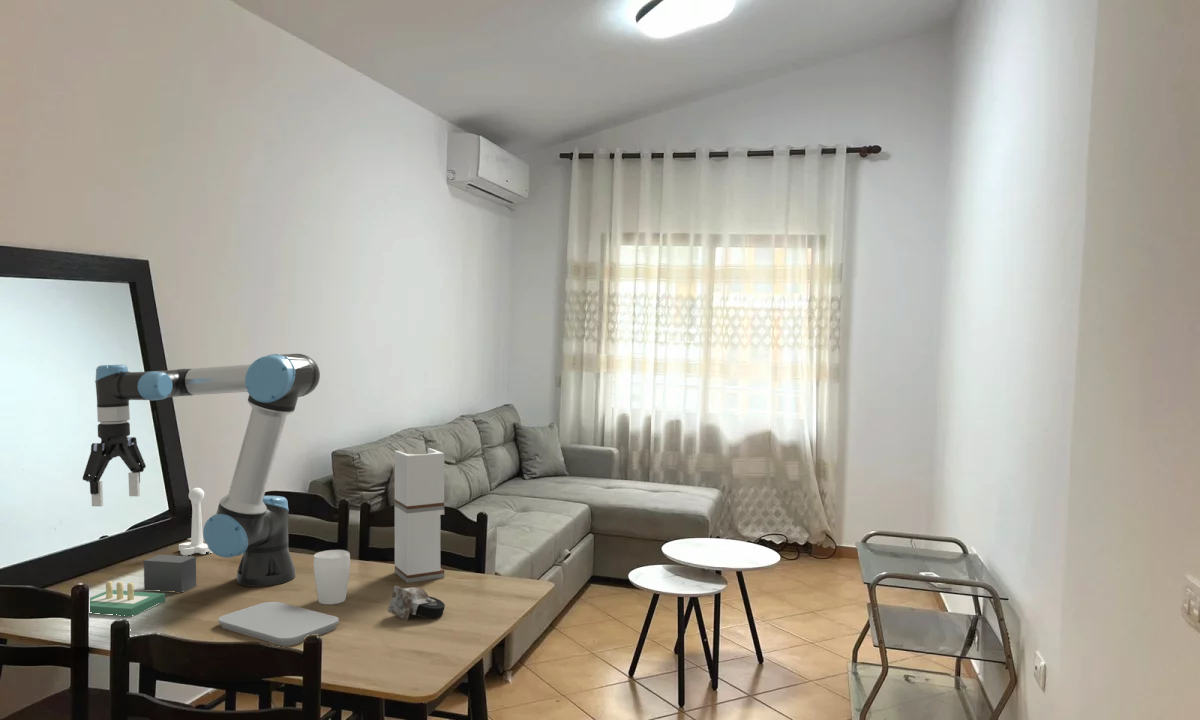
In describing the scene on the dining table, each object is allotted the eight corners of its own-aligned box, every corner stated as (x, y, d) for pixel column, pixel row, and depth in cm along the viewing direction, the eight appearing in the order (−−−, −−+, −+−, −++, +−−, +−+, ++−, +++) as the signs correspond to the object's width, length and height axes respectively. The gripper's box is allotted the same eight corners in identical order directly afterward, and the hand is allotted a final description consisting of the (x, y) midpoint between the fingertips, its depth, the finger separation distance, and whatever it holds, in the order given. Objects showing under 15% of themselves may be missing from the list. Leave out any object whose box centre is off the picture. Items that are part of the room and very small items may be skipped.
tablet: (287, 650, 187) (287, 640, 187) (212, 628, 200) (212, 618, 200) (344, 628, 201) (344, 618, 200) (271, 609, 214) (271, 600, 214)
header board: (165, 601, 218) (164, 577, 218) (131, 617, 206) (131, 591, 206) (109, 597, 221) (109, 574, 220) (73, 612, 209) (72, 587, 209)
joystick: (215, 552, 265) (215, 488, 264) (195, 558, 258) (194, 492, 258) (190, 548, 270) (190, 485, 269) (169, 553, 263) (168, 489, 262)
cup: (339, 592, 226) (339, 547, 225) (357, 600, 219) (356, 554, 219) (307, 600, 219) (307, 554, 219) (323, 608, 213) (323, 561, 213)
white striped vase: (444, 577, 240) (444, 453, 239) (407, 582, 235) (407, 455, 234) (430, 567, 250) (430, 448, 249) (394, 572, 245) (394, 450, 244)
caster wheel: (446, 624, 210) (418, 629, 202) (414, 606, 216) (385, 611, 208) (454, 598, 210) (426, 602, 202) (421, 580, 216) (393, 584, 207)
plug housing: (196, 586, 231) (195, 556, 230) (181, 592, 225) (181, 562, 224) (159, 583, 233) (159, 554, 232) (144, 590, 227) (143, 560, 226)
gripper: (134, 417, 243) (137, 492, 243) (64, 427, 218) (67, 510, 219) (157, 417, 241) (160, 492, 242) (90, 427, 217) (93, 510, 217)
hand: (116, 501), depth 230 cm, fingers open, 13 cm apart
